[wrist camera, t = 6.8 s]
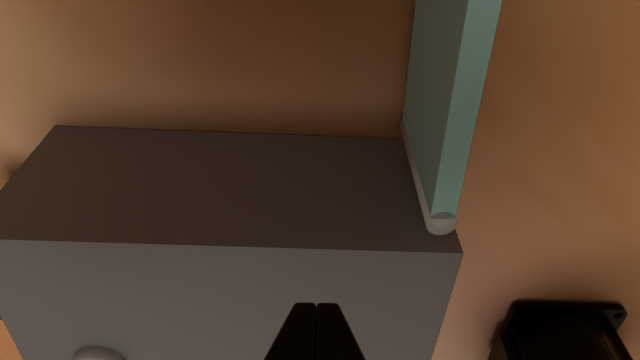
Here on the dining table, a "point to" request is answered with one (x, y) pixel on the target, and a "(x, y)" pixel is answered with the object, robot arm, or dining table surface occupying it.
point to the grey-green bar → (445, 99)
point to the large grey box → (215, 245)
